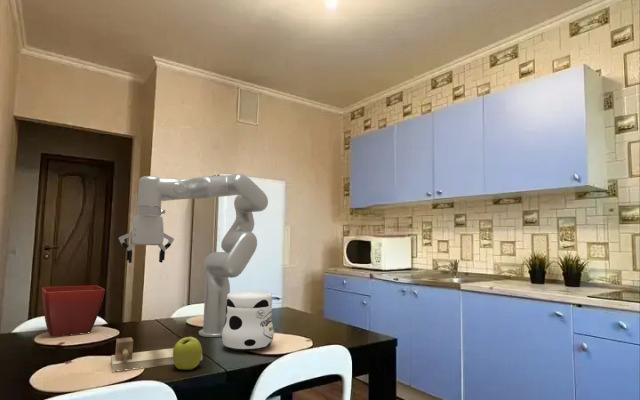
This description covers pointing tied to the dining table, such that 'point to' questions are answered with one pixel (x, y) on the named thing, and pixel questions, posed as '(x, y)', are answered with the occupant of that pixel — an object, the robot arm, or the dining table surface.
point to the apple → (187, 353)
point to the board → (145, 360)
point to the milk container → (248, 321)
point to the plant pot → (71, 308)
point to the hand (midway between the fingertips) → (145, 262)
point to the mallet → (124, 349)
